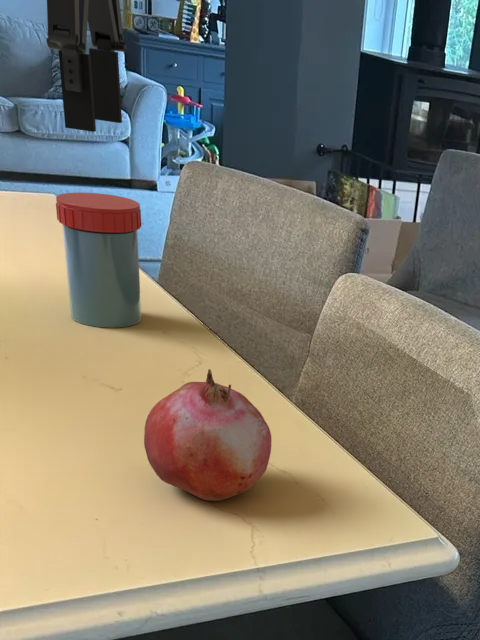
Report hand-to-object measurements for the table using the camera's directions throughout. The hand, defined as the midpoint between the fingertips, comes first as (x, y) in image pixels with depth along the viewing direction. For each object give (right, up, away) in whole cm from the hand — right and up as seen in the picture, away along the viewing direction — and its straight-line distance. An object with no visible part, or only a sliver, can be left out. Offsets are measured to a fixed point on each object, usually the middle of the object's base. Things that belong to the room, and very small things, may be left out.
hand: (95, 124), depth 91 cm
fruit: (+17, -40, -21) cm, 48 cm away
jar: (-3, -16, +11) cm, 20 cm away
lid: (-1, -6, +4) cm, 8 cm away
